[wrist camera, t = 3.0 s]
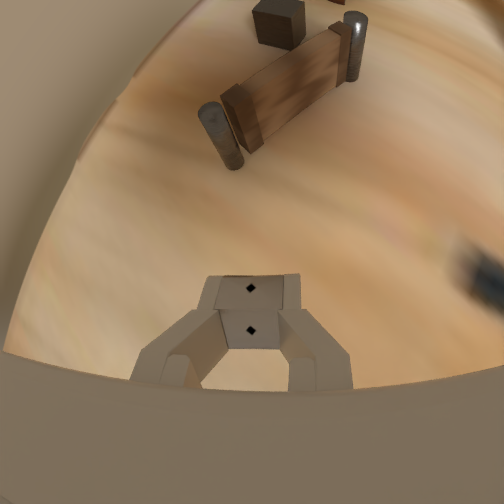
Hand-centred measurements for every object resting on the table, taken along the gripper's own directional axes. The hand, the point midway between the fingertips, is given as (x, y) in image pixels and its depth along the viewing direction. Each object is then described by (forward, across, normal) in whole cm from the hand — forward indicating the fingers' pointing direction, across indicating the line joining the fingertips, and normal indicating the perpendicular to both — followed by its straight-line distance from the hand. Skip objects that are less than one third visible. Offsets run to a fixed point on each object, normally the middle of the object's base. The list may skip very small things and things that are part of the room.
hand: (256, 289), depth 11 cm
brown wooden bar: (+27, -2, -1) cm, 27 cm away
